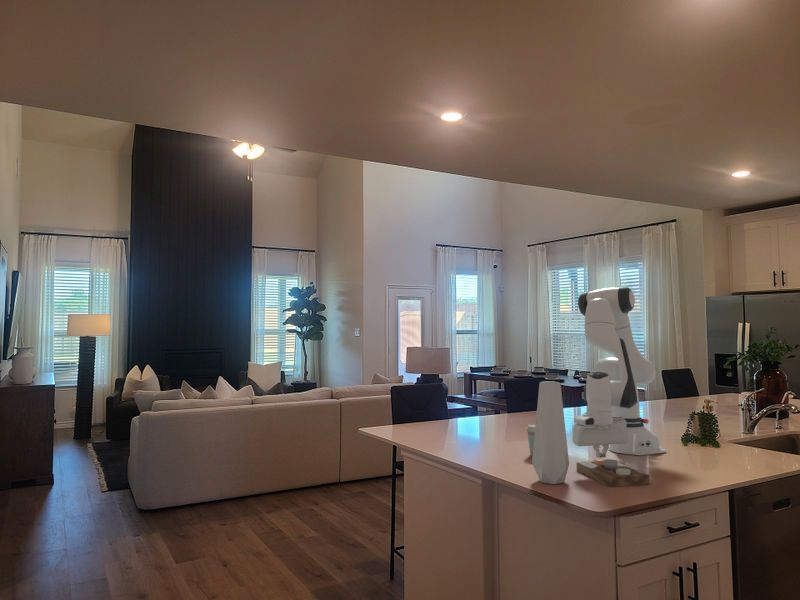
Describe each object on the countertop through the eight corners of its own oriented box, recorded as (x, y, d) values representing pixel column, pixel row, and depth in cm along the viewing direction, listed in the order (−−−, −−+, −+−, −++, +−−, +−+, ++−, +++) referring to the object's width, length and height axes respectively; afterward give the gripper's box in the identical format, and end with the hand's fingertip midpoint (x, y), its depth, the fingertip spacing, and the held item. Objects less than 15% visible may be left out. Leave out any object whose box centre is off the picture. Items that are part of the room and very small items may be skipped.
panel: (611, 468, 202) (611, 460, 202) (649, 484, 180) (649, 474, 180) (576, 470, 199) (576, 461, 199) (610, 486, 178) (610, 477, 178)
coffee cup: (549, 458, 219) (548, 427, 220) (527, 457, 221) (526, 427, 221) (548, 453, 227) (547, 424, 228) (526, 453, 229) (526, 423, 230)
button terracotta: (602, 467, 199) (602, 458, 199) (609, 470, 195) (609, 461, 195) (591, 467, 198) (591, 459, 199) (598, 470, 194) (597, 462, 194)
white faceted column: (578, 485, 180) (575, 383, 182) (545, 487, 177) (543, 384, 179) (560, 475, 192) (557, 380, 194) (529, 477, 189) (527, 381, 191)
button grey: (613, 467, 192) (613, 459, 193) (620, 470, 188) (620, 461, 188) (601, 468, 192) (601, 459, 192) (609, 471, 187) (608, 462, 187)
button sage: (625, 476, 185) (625, 467, 186) (633, 480, 181) (632, 470, 181) (613, 477, 185) (613, 468, 185) (621, 480, 180) (620, 471, 180)
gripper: (620, 415, 203) (622, 453, 202) (569, 418, 199) (571, 457, 198) (631, 418, 197) (632, 457, 196) (578, 421, 193) (580, 461, 192)
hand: (601, 457), depth 197 cm, fingers closed
